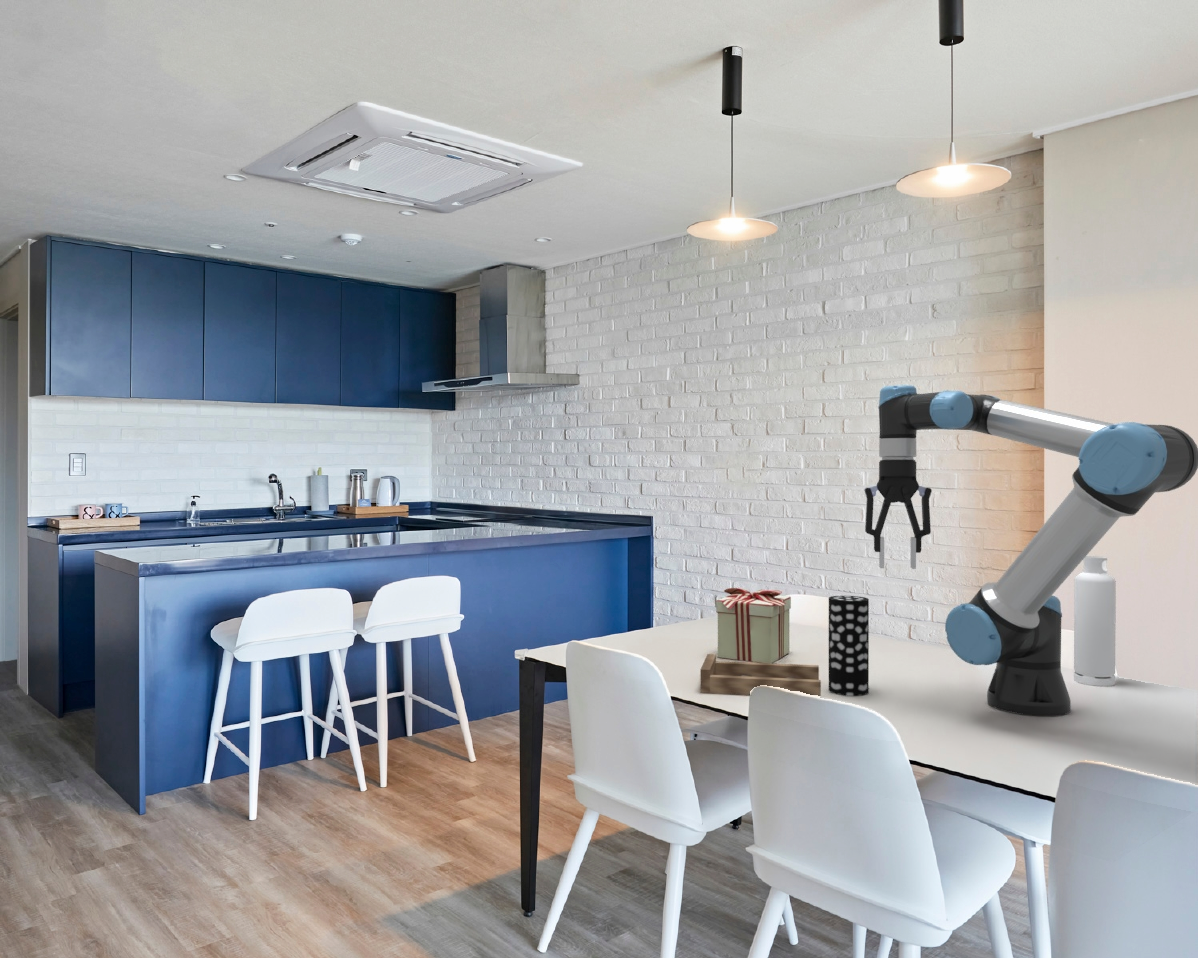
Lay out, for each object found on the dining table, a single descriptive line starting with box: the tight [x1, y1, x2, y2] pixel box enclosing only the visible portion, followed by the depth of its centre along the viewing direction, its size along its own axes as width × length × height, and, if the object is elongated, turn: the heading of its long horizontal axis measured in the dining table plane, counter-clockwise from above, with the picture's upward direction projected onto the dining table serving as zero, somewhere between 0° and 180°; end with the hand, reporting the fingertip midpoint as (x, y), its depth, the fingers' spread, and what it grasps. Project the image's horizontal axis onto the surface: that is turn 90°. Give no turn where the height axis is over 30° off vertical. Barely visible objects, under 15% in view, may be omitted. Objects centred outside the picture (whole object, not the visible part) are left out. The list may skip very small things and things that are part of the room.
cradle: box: [699, 653, 822, 697], centre depth 195 cm, size 25×16×5 cm, turn 78°
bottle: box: [1073, 555, 1117, 687], centre depth 199 cm, size 8×8×28 cm
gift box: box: [715, 587, 792, 663], centre depth 226 cm, size 17×18×17 cm
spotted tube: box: [828, 595, 870, 697], centre depth 191 cm, size 8×8×20 cm
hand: (897, 567), depth 189 cm, fingers open, 6 cm apart
